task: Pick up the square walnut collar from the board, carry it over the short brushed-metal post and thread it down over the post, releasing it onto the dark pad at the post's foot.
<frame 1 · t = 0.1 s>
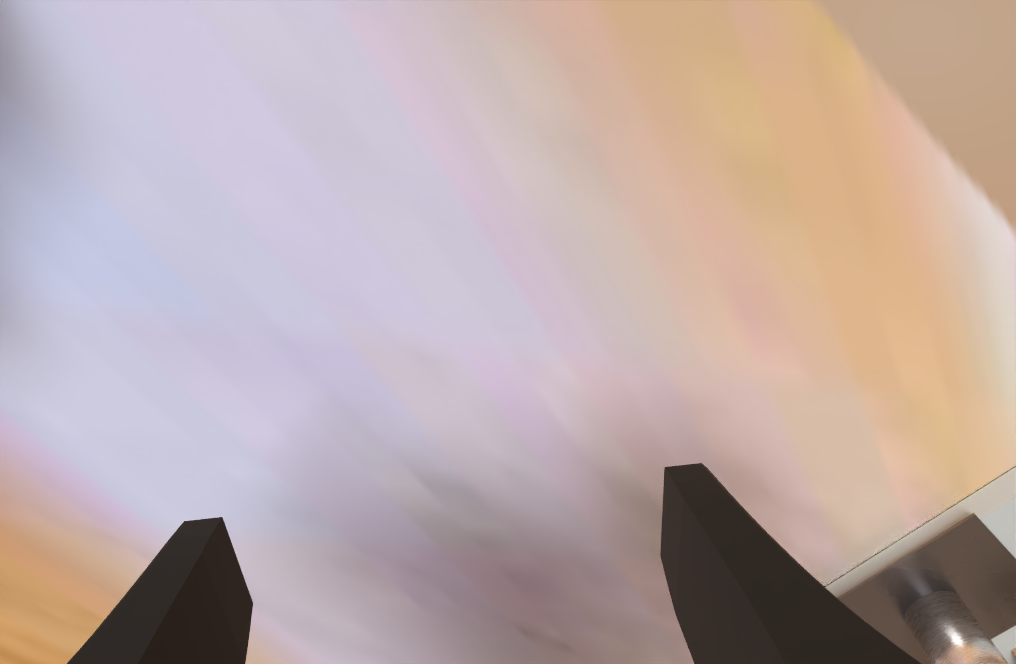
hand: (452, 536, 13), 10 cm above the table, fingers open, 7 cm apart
board: (1007, 605, 31), on the table
post: (917, 587, 30), resting on board
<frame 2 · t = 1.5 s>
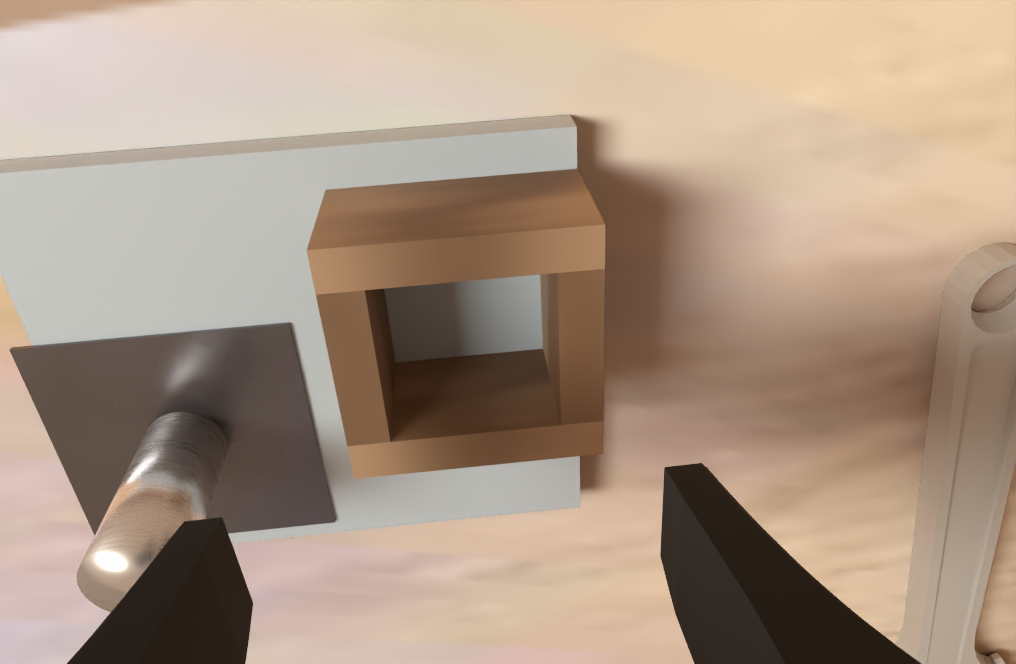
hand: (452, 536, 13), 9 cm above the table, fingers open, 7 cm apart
adjustable wrench: (950, 540, 29), on the table
collar: (463, 290, 20), point 1 cm above the table, touching board
board: (324, 349, 22), on the table
post: (197, 419, 23), resting on board
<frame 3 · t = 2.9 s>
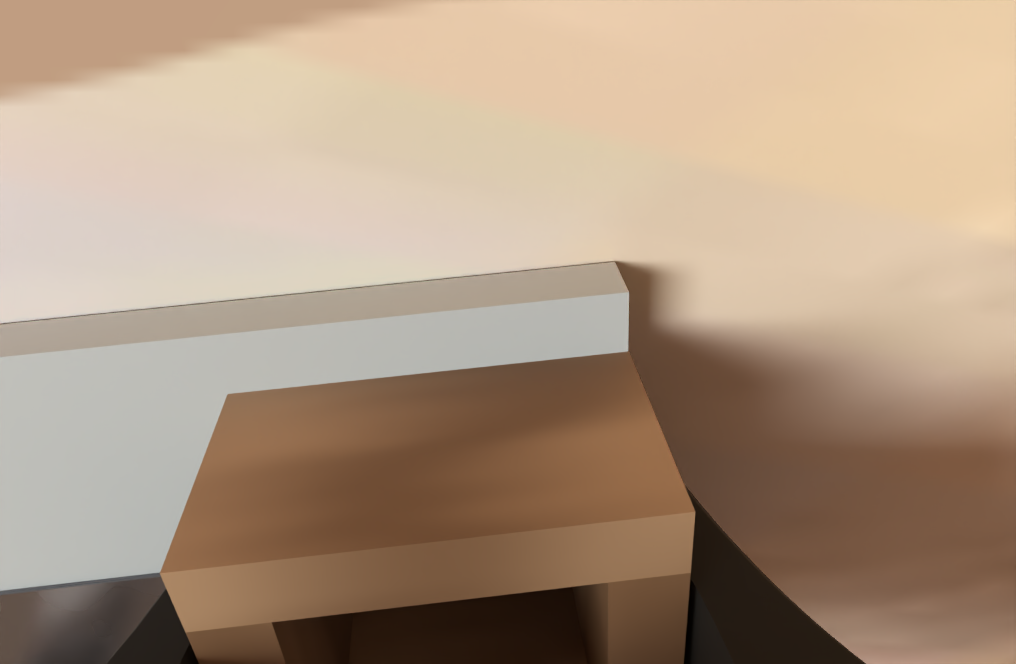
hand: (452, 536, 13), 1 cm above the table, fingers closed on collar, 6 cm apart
collar: (451, 518, 13), point 1 cm above the table, touching board, gripper
board: (252, 580, 15), on the table
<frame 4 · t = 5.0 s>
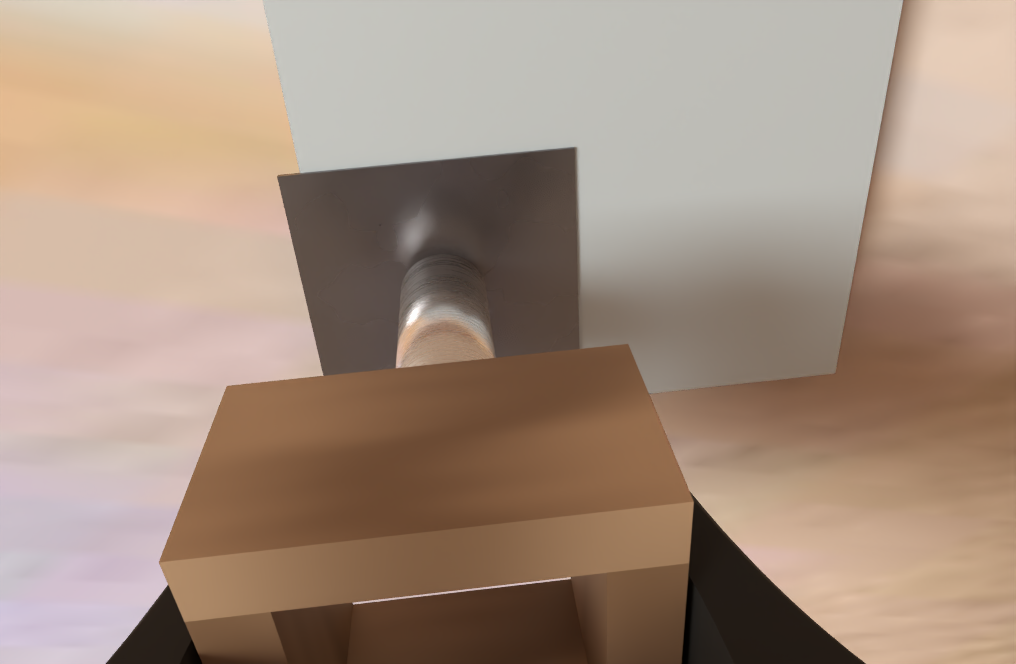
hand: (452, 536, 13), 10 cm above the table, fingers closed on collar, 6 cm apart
collar: (450, 511, 13), point 9 cm above the table, touching gripper
board: (588, 190, 20), on the table
post: (442, 273, 21), resting on board
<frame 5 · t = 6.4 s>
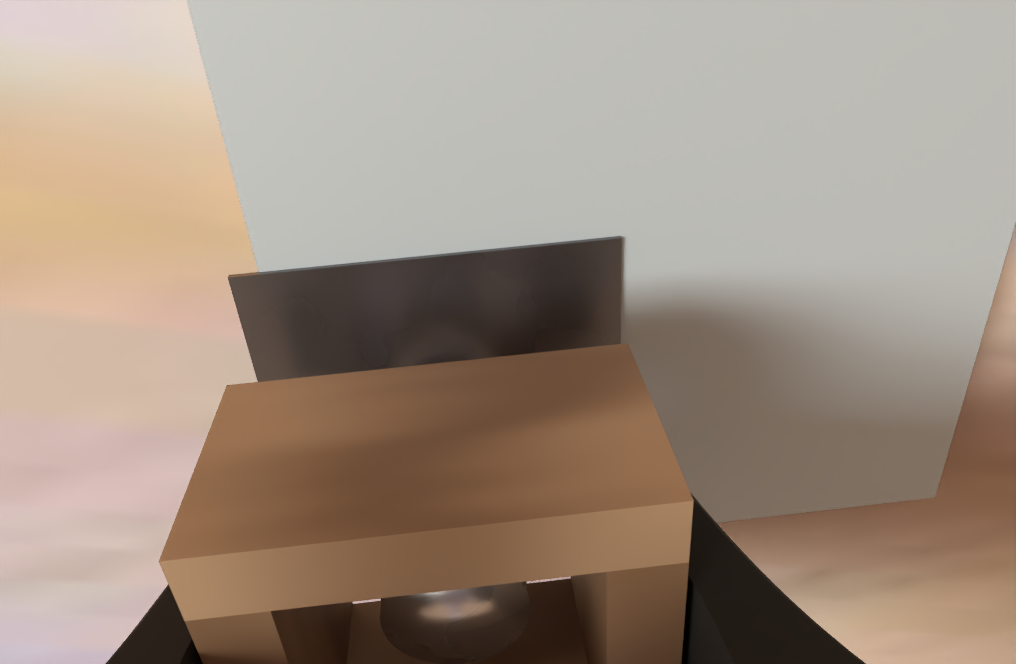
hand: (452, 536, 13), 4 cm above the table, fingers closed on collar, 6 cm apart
collar: (450, 511, 13), point 4 cm above the table, touching gripper
board: (634, 281, 16), on the table
post: (447, 383, 17), resting on board
when the fingers open (4 cm above the table, at t = 7.2 s): collar drops 3 cm, resting on post.
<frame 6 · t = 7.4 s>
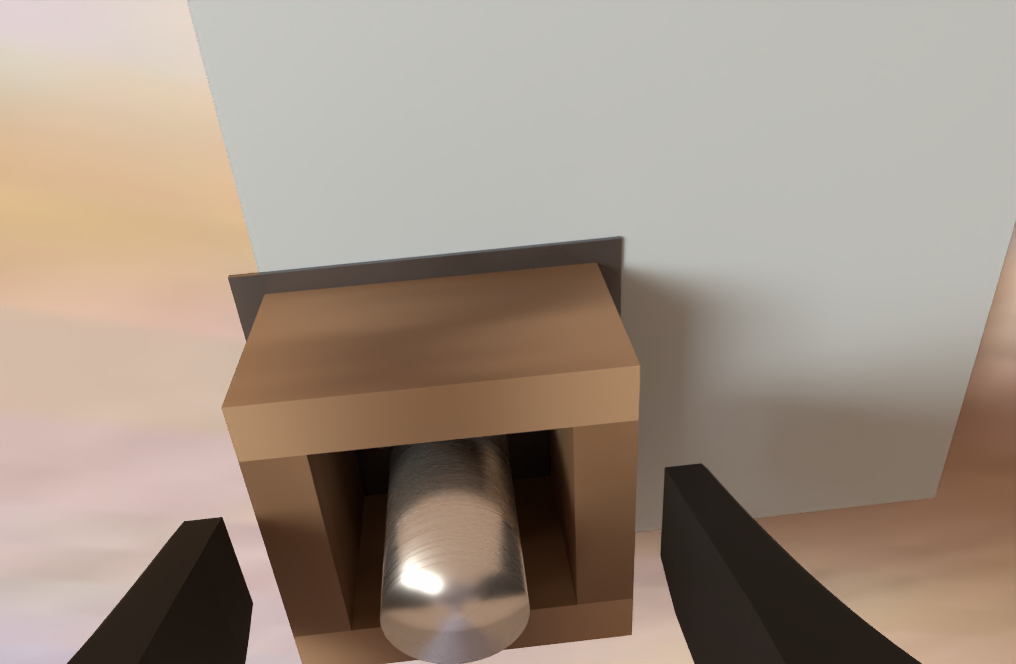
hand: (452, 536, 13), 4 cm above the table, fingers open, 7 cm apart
collar: (449, 411, 16), point 1 cm above the table, touching post
board: (634, 282, 16), on the table
post: (447, 383, 17), resting on board
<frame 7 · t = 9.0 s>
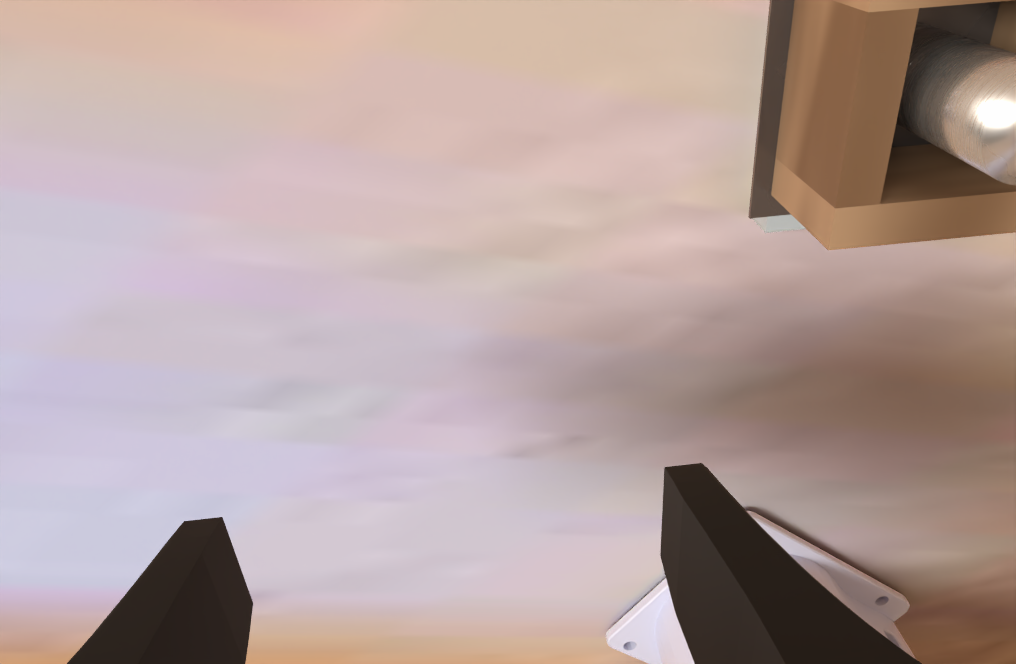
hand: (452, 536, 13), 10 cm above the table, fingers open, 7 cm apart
collar: (906, 67, 19), point 1 cm above the table, touching post
post: (881, 61, 20), resting on board
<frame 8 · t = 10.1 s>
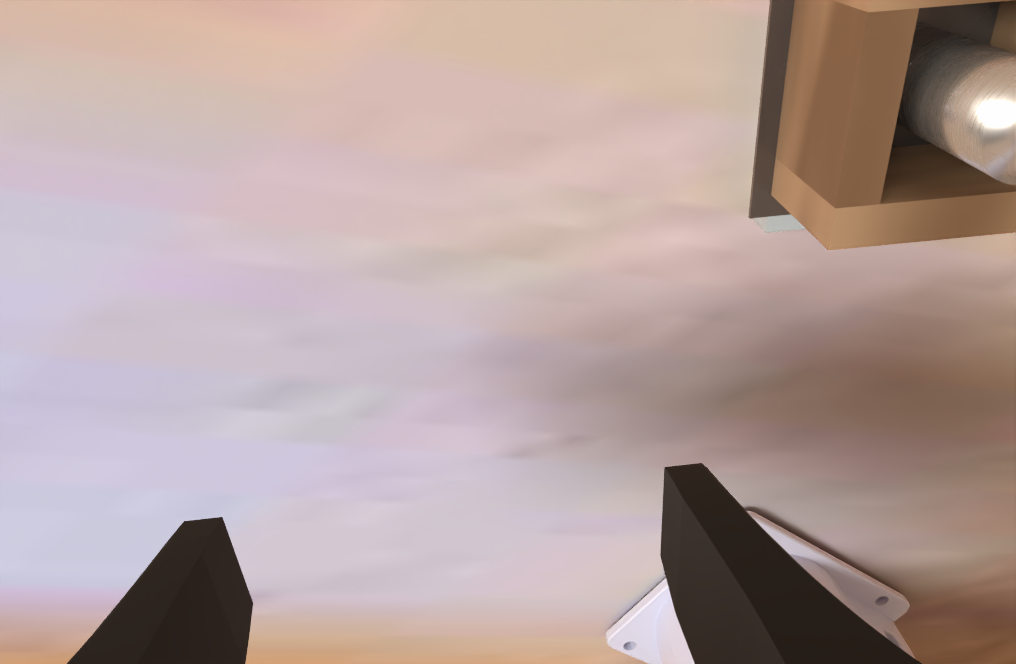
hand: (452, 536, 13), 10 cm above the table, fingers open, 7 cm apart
collar: (906, 67, 19), point 1 cm above the table, touching post
post: (881, 61, 20), resting on board
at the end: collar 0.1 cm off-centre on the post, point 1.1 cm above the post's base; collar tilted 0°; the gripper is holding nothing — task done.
